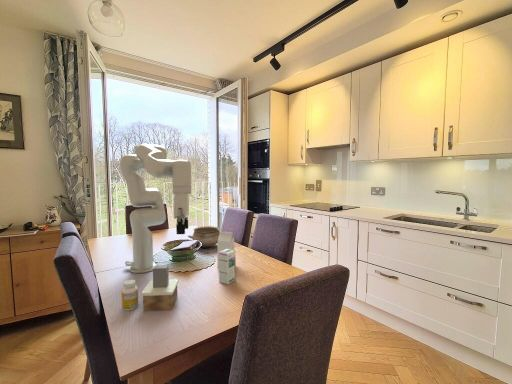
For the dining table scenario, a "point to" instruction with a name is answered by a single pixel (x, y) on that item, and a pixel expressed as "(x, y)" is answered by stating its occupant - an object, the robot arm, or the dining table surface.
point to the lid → (160, 282)
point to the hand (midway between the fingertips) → (182, 231)
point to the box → (159, 302)
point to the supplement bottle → (129, 295)
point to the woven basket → (206, 236)
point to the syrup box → (227, 266)
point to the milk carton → (225, 242)
